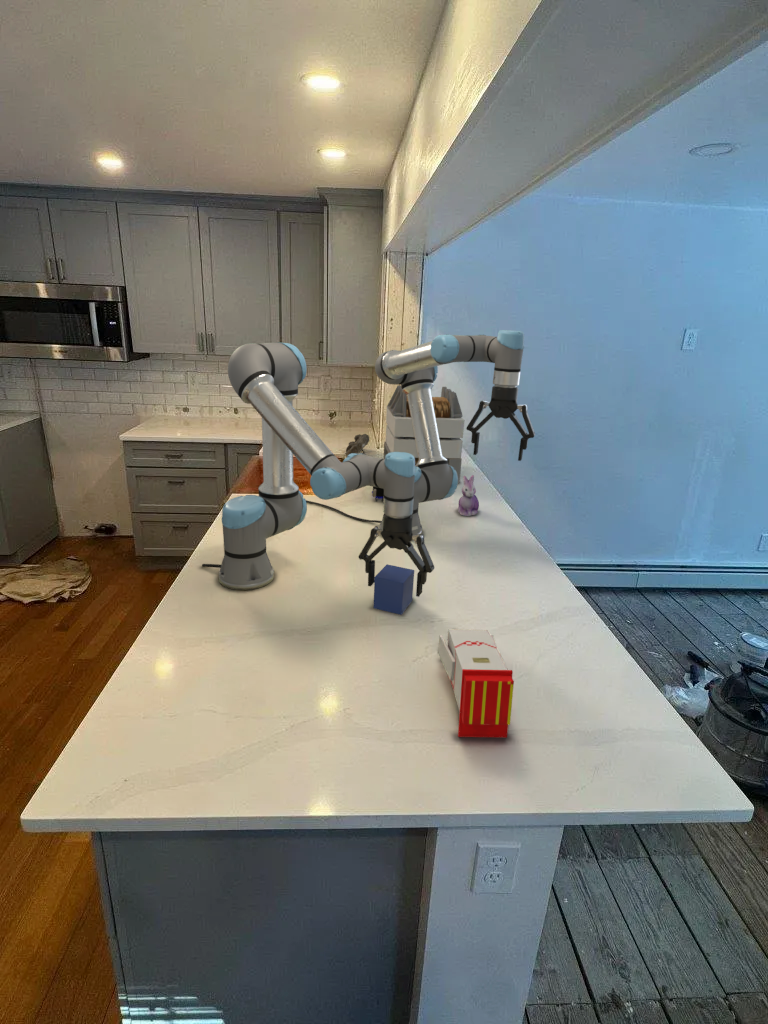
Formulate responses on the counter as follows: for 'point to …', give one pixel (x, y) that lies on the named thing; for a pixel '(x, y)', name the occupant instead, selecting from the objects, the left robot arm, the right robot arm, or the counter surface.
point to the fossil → (357, 444)
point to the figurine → (468, 498)
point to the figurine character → (378, 493)
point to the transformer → (446, 420)
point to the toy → (478, 682)
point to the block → (393, 589)
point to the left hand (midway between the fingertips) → (394, 589)
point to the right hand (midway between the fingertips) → (497, 456)
